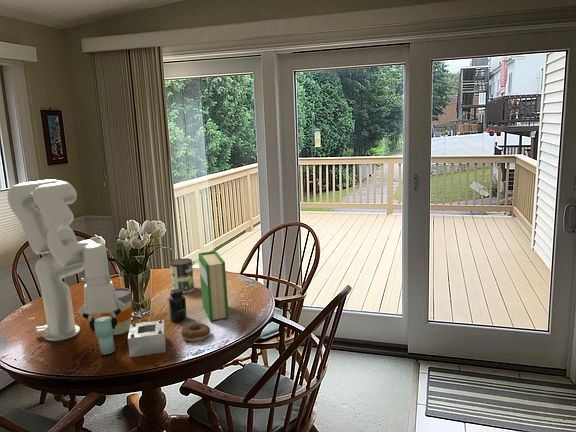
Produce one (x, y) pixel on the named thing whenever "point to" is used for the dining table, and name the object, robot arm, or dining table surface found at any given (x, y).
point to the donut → (195, 332)
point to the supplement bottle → (177, 306)
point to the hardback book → (213, 285)
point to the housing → (147, 338)
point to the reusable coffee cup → (125, 314)
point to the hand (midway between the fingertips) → (104, 328)
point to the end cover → (104, 334)
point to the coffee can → (182, 275)
